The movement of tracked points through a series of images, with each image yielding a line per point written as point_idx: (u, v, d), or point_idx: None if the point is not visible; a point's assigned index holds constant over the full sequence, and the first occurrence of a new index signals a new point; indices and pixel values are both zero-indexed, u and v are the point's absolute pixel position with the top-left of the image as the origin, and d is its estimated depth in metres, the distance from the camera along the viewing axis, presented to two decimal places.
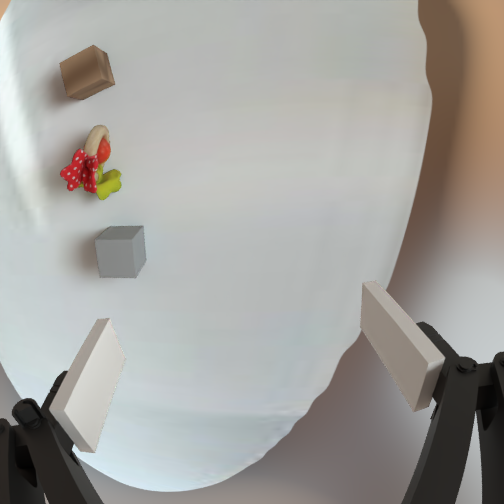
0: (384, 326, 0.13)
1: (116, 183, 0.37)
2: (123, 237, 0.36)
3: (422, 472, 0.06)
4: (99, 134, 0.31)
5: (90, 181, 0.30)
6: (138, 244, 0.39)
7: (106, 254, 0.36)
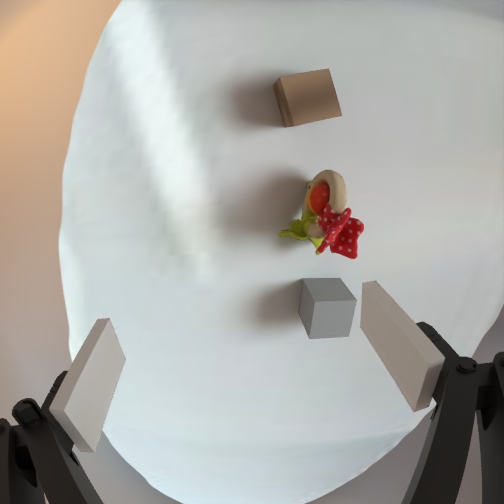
0: (384, 326, 0.13)
1: None
2: (343, 297, 0.35)
3: (422, 472, 0.06)
4: (345, 186, 0.29)
5: (350, 245, 0.28)
6: None
7: (324, 316, 0.35)
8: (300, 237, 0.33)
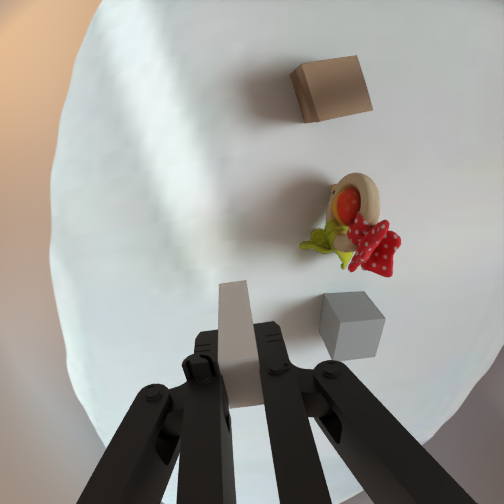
0: None
1: None
2: (371, 315, 0.30)
3: (277, 483, 0.06)
4: None
5: (385, 262, 0.24)
6: None
7: (349, 337, 0.30)
8: (325, 251, 0.28)
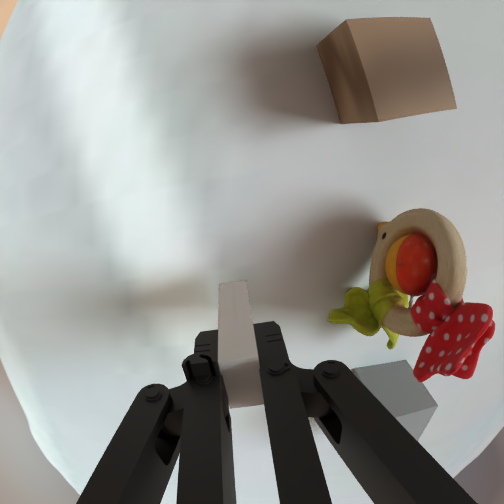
0: None
1: None
2: (420, 402, 0.19)
3: (277, 483, 0.06)
4: (463, 246, 0.13)
5: (467, 360, 0.12)
6: None
7: None
8: (371, 333, 0.17)
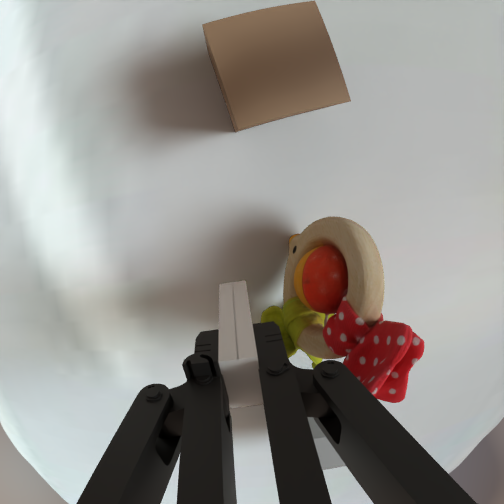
0: None
1: None
2: None
3: (277, 483, 0.06)
4: (379, 256, 0.13)
5: (394, 383, 0.12)
6: None
7: None
8: None
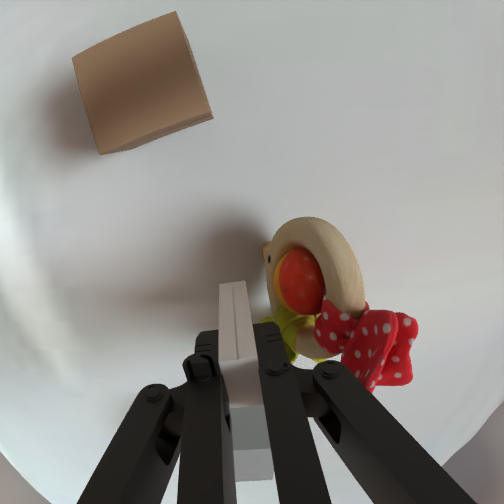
0: None
1: None
2: (256, 440, 0.19)
3: (277, 483, 0.06)
4: (349, 246, 0.13)
5: (398, 367, 0.12)
6: None
7: None
8: None
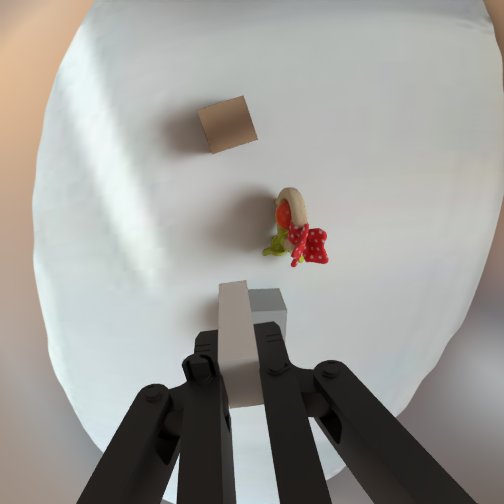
0: None
1: None
2: (275, 307, 0.38)
3: (277, 483, 0.06)
4: (302, 200, 0.33)
5: (319, 253, 0.32)
6: None
7: None
8: (279, 253, 0.37)
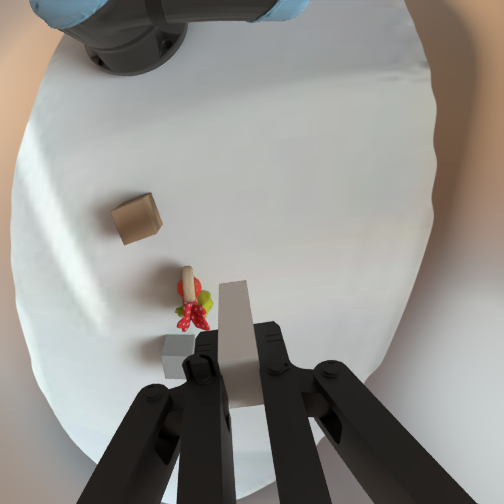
0: None
1: (210, 303, 0.49)
2: (184, 353, 0.48)
3: (277, 483, 0.06)
4: (192, 281, 0.42)
5: (202, 323, 0.41)
6: None
7: (170, 365, 0.47)
8: (182, 315, 0.46)
